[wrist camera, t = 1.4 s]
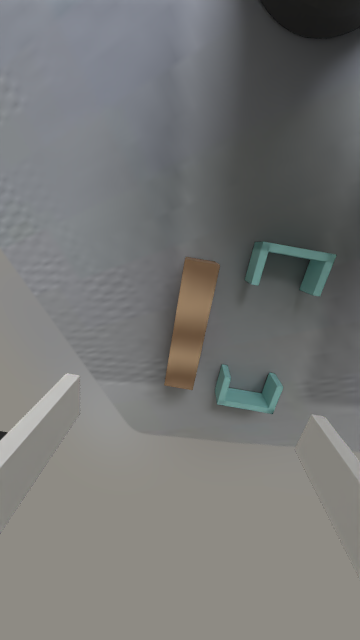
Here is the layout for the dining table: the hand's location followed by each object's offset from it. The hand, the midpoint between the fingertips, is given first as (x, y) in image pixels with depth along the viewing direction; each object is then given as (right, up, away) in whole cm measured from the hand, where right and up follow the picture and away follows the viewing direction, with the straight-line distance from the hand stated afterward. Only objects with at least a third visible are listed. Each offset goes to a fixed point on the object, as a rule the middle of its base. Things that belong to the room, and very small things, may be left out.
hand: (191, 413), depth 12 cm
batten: (+1, +6, +16) cm, 17 cm away
